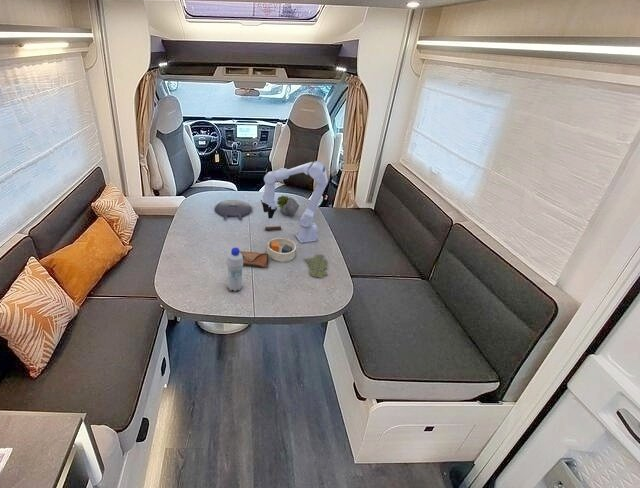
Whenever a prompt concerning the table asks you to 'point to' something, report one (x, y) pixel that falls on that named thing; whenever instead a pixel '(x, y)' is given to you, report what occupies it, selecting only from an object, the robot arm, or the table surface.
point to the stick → (273, 228)
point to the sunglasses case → (255, 259)
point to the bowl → (279, 255)
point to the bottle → (235, 269)
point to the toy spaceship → (233, 208)
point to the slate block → (286, 249)
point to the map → (317, 266)
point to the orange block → (275, 246)
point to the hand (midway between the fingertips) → (267, 215)
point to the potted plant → (287, 205)
